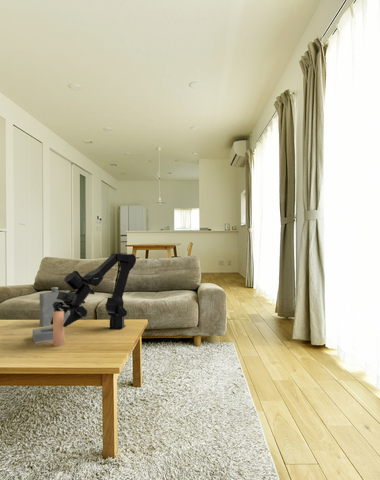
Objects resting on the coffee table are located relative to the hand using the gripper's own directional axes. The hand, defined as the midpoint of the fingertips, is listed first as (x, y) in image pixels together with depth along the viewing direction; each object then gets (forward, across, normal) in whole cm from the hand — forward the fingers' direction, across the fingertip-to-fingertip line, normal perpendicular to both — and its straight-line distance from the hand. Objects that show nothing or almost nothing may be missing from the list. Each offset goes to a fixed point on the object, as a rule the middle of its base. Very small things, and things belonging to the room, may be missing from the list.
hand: (57, 325), depth 133 cm
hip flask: (-9, -36, +21) cm, 43 cm away
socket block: (+3, -14, +8) cm, 16 cm away
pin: (+6, 0, +6) cm, 8 cm away
